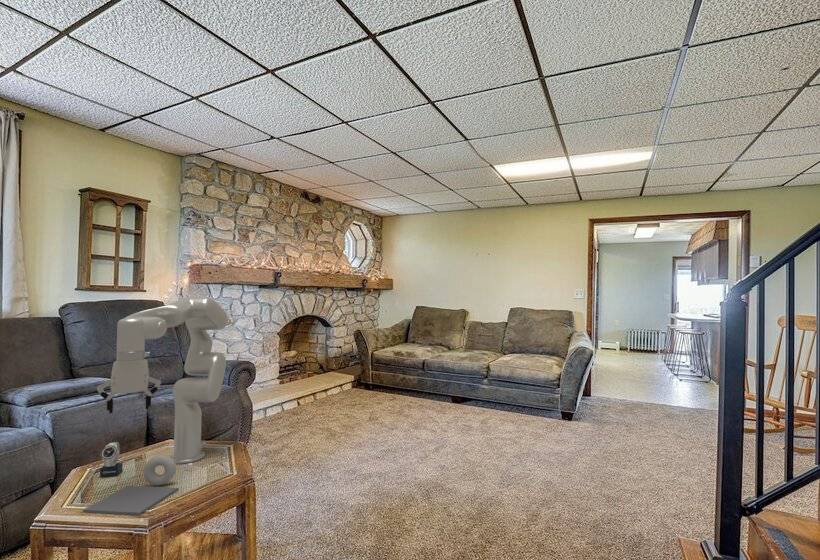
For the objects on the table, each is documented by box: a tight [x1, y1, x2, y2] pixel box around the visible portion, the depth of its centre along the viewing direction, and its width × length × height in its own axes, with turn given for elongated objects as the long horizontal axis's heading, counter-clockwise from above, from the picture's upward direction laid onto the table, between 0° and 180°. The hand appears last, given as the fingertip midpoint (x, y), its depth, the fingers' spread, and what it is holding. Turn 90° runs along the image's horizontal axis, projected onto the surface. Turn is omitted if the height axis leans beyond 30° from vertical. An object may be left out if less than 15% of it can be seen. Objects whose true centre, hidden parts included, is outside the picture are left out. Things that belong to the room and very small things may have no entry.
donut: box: [142, 454, 177, 487], centre depth 142 cm, size 10×4×10 cm, turn 102°
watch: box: [99, 441, 124, 478], centre depth 152 cm, size 6×8×11 cm
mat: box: [82, 485, 179, 516], centre depth 130 cm, size 17×18×1 cm
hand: (129, 410), depth 135 cm, fingers open, 9 cm apart
